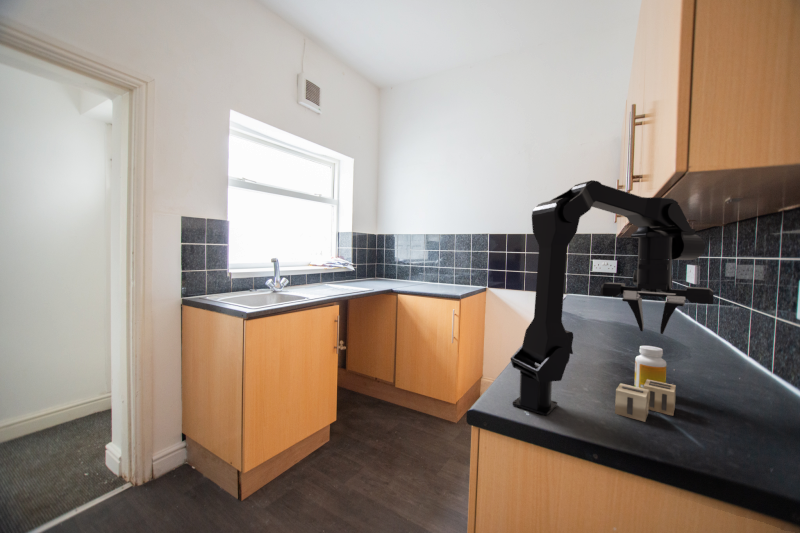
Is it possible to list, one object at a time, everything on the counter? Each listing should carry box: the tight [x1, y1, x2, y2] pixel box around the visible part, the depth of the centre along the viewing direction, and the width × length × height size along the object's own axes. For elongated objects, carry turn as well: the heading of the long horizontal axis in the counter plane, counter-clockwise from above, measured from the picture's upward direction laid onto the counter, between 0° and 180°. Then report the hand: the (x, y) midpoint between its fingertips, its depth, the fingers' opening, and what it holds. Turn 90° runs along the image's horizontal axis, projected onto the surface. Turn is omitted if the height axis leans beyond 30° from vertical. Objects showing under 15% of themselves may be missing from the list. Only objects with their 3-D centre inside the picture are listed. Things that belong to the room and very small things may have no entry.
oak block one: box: [614, 382, 649, 423], centre depth 62 cm, size 5×4×5 cm
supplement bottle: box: [633, 345, 667, 389], centre depth 72 cm, size 5×5×10 cm
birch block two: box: [644, 379, 677, 416], centre depth 64 cm, size 5×4×5 cm
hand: (651, 332), depth 71 cm, fingers open, 3 cm apart
